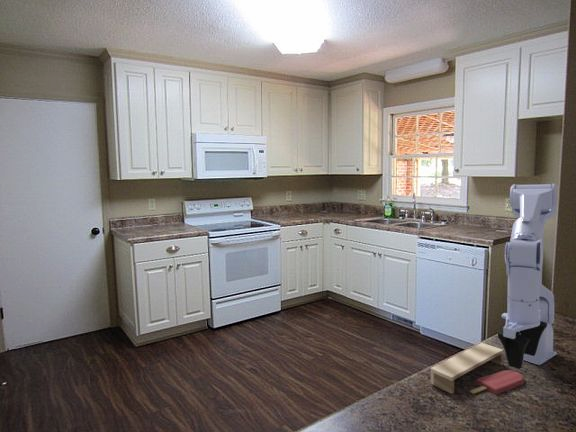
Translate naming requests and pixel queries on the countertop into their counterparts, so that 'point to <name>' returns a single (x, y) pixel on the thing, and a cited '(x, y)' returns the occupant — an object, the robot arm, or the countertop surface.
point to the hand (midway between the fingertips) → (522, 360)
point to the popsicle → (499, 382)
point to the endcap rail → (463, 365)
